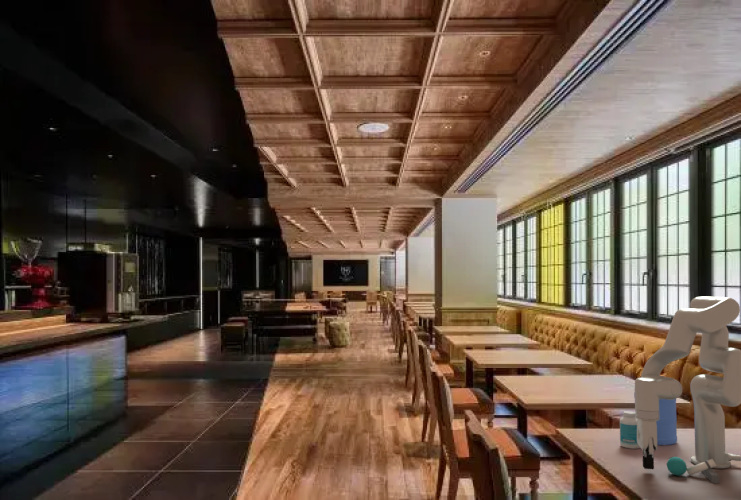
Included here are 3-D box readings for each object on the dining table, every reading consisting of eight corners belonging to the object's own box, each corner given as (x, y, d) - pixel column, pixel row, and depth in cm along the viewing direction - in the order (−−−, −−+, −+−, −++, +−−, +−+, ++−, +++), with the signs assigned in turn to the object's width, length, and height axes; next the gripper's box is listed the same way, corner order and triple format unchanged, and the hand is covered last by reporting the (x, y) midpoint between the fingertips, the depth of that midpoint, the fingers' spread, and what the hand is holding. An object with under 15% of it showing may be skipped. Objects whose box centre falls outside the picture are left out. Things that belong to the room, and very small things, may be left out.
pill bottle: (643, 449, 229) (643, 414, 230) (624, 449, 229) (624, 414, 230) (635, 444, 237) (634, 410, 237) (617, 444, 237) (616, 410, 237)
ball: (671, 451, 203) (661, 465, 203) (675, 455, 197) (665, 469, 198) (687, 462, 202) (677, 476, 202) (692, 466, 196) (682, 481, 196)
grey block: (707, 471, 203) (706, 464, 203) (719, 483, 191) (718, 475, 192) (700, 471, 204) (700, 463, 204) (712, 482, 192) (712, 475, 192)
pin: (688, 474, 200) (714, 464, 198) (690, 477, 198) (717, 467, 196) (684, 467, 200) (710, 457, 199) (687, 470, 198) (713, 460, 196)
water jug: (678, 438, 245) (676, 371, 246) (676, 448, 231) (674, 376, 232) (637, 433, 253) (636, 368, 254) (632, 442, 239) (631, 373, 240)
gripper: (631, 409, 211) (632, 461, 210) (640, 418, 197) (641, 474, 196) (653, 410, 209) (655, 462, 208) (664, 420, 195) (665, 476, 194)
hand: (648, 468), depth 202 cm, fingers closed
